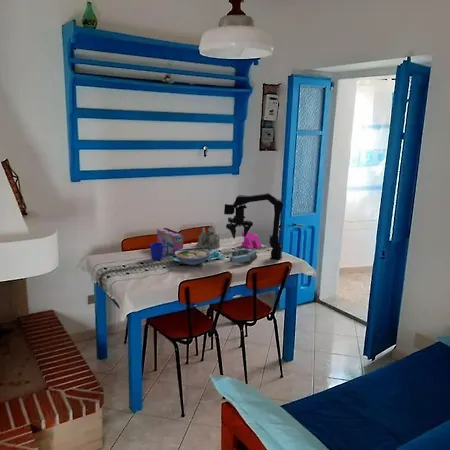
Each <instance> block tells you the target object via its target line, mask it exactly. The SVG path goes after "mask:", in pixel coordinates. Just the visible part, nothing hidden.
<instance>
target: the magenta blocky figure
mask: <svg viewBox="0 0 450 450" xmlns="http://www.w3.org/2000/svg"><path fill="white" fill-rule="evenodd" d="M241 237H242V238H243V241H241V246H243V247H244V248H245V249H252V250H254V248H256V249H262V248H263V247H262V244H261V243H262V242H261V241H260V238H259V235H258V234H255V233H251V231H250V230H249V231H248V233H247V234H246V236H244V231H241Z"/></svg>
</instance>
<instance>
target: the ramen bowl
mask: <svg viewBox="0 0 450 450" xmlns="http://www.w3.org/2000/svg"><path fill="white" fill-rule="evenodd" d="M209 249H211V248H209V247H183V249H180V250H172V251H176V252H175V257H176V258H177V260H179V261H180V262H181V263H183V264H186V265H188V266H196V265H199V264H202V263H204V262H205V261H207V260H208V259H209V256H210V255H211V251H210V250H209Z"/></svg>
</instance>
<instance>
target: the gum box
mask: <svg viewBox="0 0 450 450" xmlns="http://www.w3.org/2000/svg"><path fill="white" fill-rule="evenodd" d="M156 231H157V232H156V233H157V237H156V238H157V240H156V243H162V244H163V246H168V254H171V255H174V254H175V252H176V251H172V250H180V249H184V233H182V232H178V231H175V230H173V229H171V228H167V227H163V228H161V229H158V228H157V229H156ZM163 251H165V252H167V247H163Z"/></svg>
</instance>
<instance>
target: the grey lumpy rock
mask: <svg viewBox="0 0 450 450" xmlns="http://www.w3.org/2000/svg"><path fill="white" fill-rule="evenodd" d="M219 235H220V234H218V233H216V228H215V227H213V224H210V225H209V227H208V229H207V232H206V228H205V227H202V230H201V233H200V234H199V235H198V239H197V243H196V246H198V247H199V248H201V247H209V248H210V249H218V248H221V243H220V241H221V240H220V236H219Z"/></svg>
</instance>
